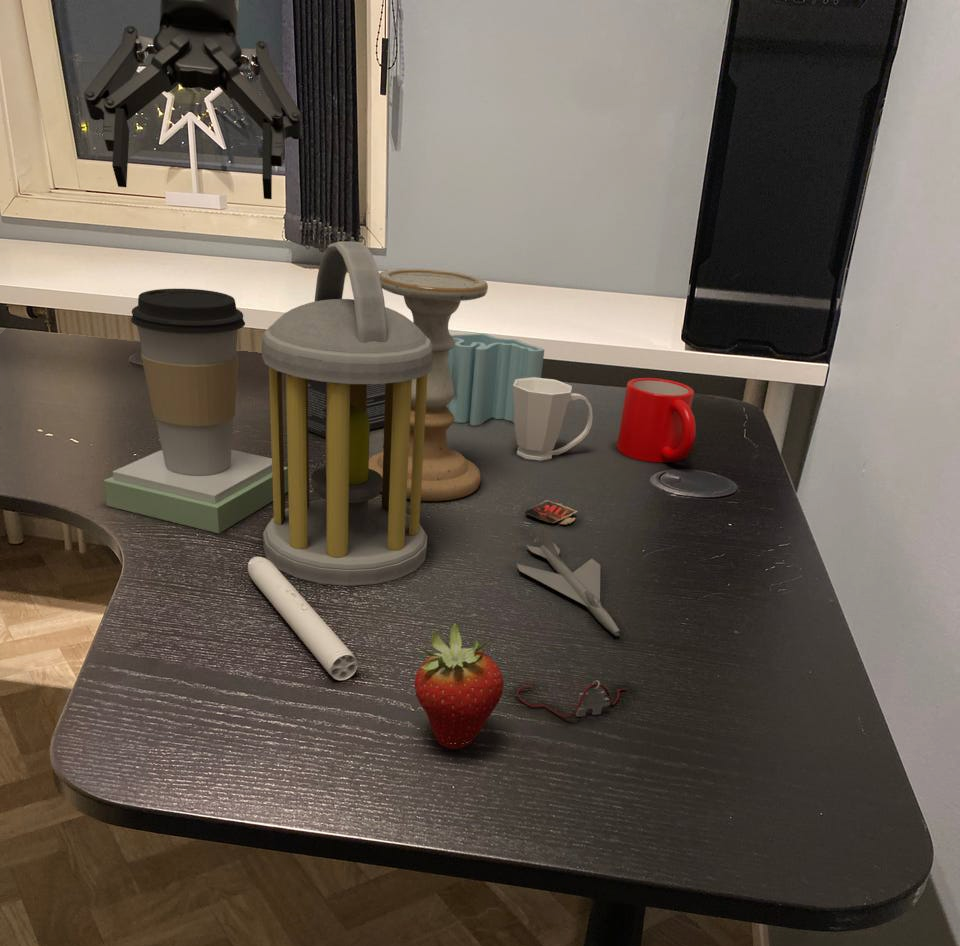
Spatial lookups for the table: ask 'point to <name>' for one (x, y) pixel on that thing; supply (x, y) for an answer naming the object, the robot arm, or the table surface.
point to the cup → (543, 416)
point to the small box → (319, 406)
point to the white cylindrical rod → (303, 619)
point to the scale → (194, 491)
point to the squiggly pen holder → (489, 375)
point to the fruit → (457, 689)
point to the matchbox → (551, 512)
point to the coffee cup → (191, 374)
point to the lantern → (347, 430)
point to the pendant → (584, 700)
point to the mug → (657, 421)
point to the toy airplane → (571, 580)
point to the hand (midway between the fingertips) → (194, 183)
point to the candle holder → (435, 377)
